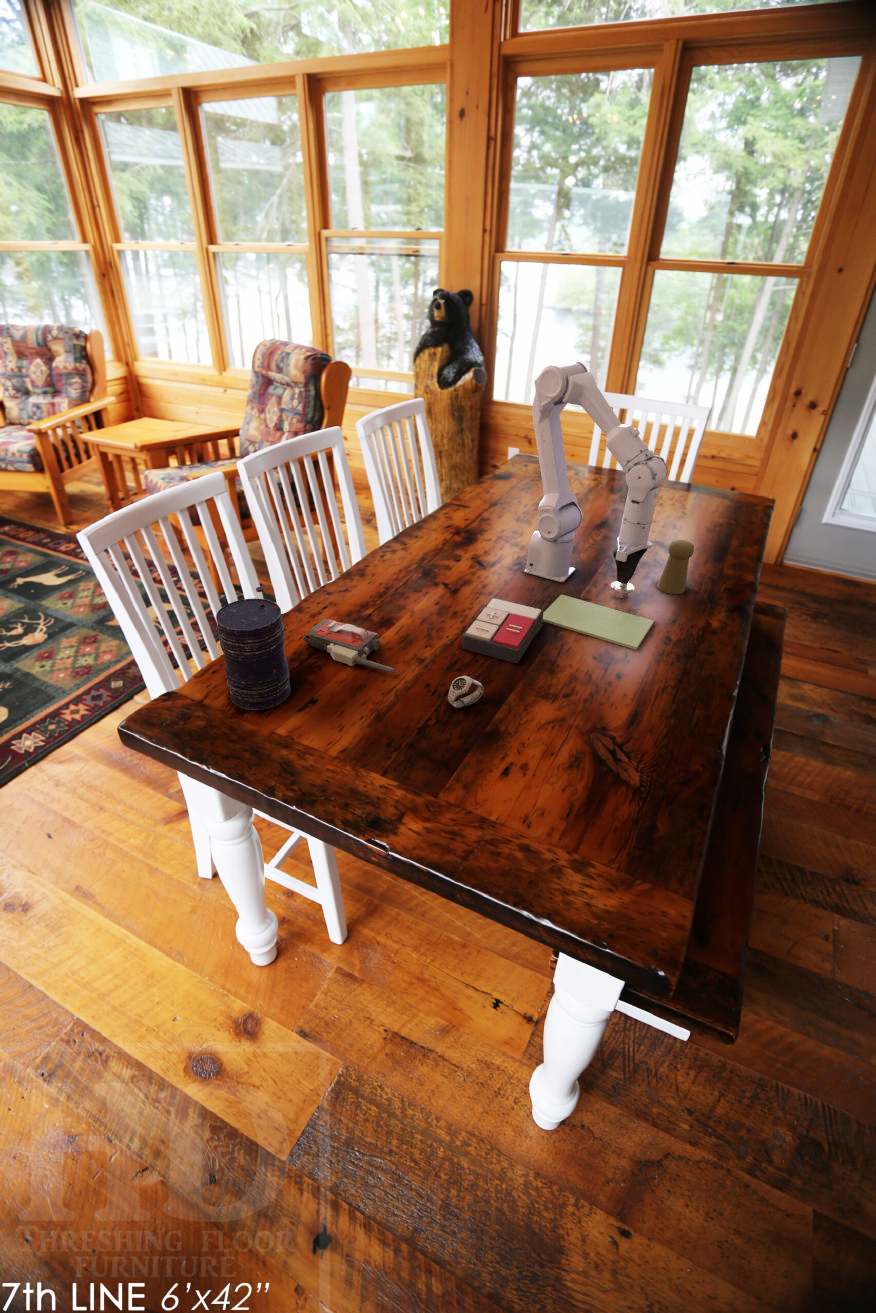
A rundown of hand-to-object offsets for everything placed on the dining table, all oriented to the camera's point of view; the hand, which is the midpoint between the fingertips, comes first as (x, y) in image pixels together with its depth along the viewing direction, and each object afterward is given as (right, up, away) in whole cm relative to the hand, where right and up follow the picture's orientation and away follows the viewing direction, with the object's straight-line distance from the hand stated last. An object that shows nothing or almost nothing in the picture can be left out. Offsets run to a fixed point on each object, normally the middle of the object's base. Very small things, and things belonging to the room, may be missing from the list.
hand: (624, 580), depth 136 cm
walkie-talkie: (-54, -16, -19) cm, 60 cm away
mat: (-8, -9, -7) cm, 14 cm away
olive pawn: (+12, -1, +7) cm, 14 cm away
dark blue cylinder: (-69, -22, -30) cm, 78 cm away
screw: (0, -3, +2) cm, 4 cm away
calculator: (-27, -13, -13) cm, 32 cm away
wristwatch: (-35, -24, -30) cm, 52 cm away
